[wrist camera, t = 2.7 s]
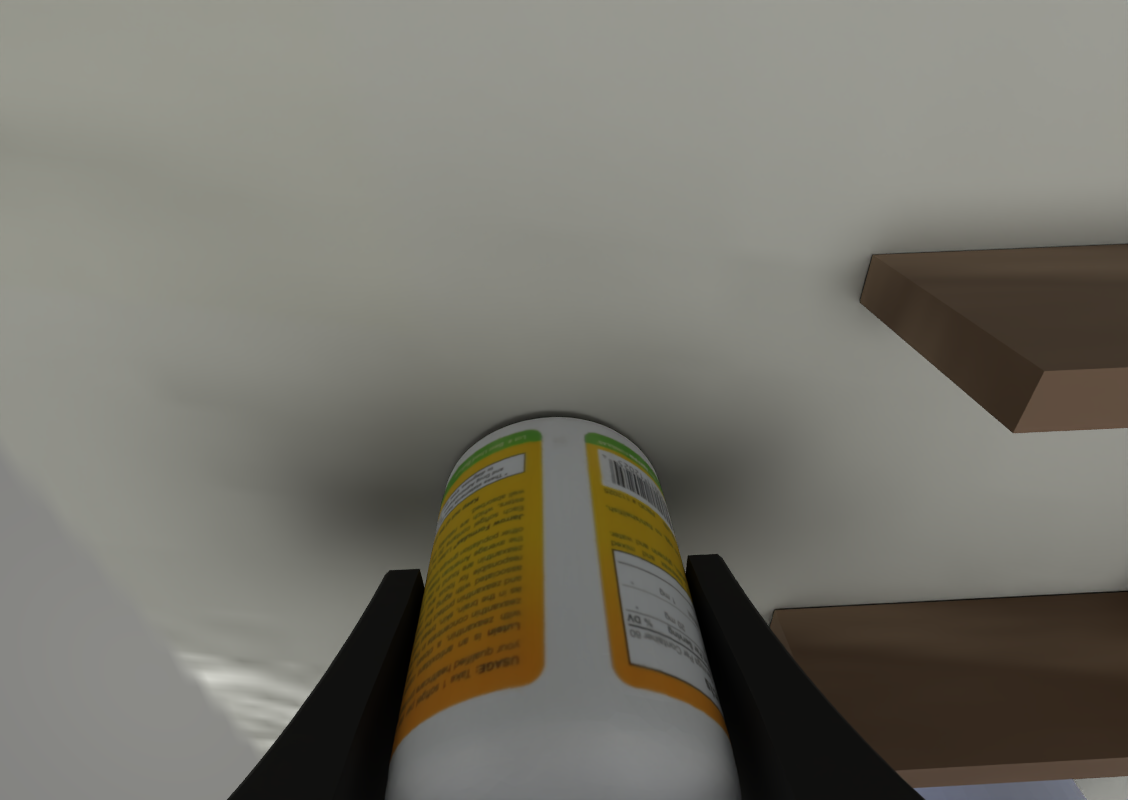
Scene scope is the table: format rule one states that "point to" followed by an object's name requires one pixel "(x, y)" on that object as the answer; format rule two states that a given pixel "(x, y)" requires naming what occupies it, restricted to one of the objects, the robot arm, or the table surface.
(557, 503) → the supplement bottle
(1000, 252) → the walnut stall
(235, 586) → the table surface
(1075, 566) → the table surface
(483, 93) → the table surface
